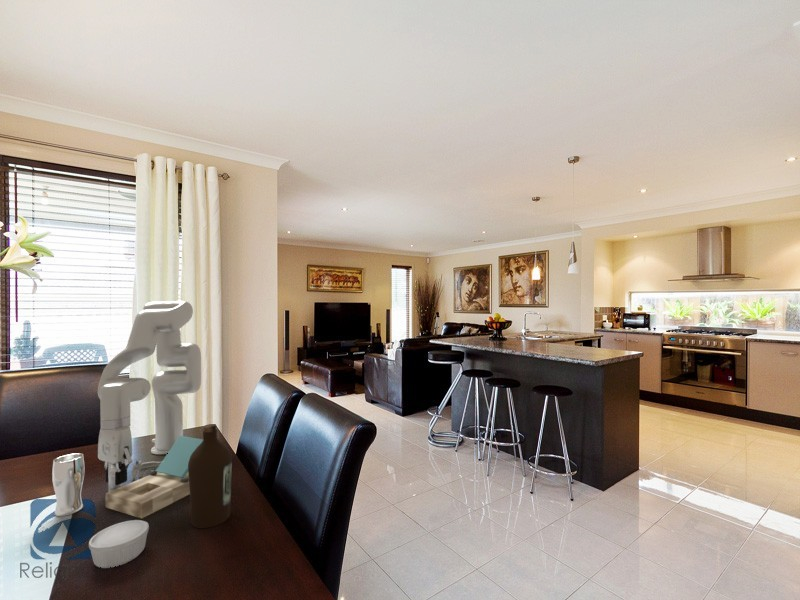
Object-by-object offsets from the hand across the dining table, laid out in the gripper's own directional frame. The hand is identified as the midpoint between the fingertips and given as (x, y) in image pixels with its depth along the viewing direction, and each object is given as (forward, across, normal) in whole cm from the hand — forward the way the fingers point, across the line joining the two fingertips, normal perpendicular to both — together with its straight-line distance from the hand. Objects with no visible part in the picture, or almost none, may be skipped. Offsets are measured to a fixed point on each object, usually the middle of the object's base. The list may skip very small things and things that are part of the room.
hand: (116, 481), depth 120 cm
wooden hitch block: (+3, +15, +4) cm, 16 cm away
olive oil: (+3, +41, 0) cm, 41 cm away
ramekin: (+4, +34, -19) cm, 39 cm away
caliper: (+4, -2, +17) cm, 18 cm away
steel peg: (+3, 0, 0) cm, 3 cm away
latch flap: (-6, +15, +11) cm, 20 cm away
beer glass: (+3, -1, -12) cm, 13 cm away
